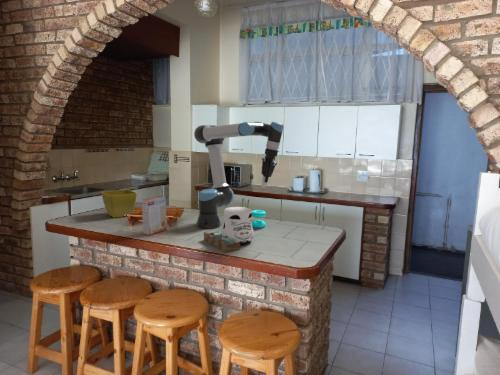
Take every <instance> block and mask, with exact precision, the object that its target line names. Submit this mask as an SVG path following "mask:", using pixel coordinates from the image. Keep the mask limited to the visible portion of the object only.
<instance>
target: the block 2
mask: <svg viewBox="0 0 500 375" xmlns="http://www.w3.org/2000/svg"><path fill="white" fill-rule="evenodd" d="M222 241H223V242H225V243H226V245H227V244H233V243H234V239H233V238H228V237H226V238H223V237H222Z"/></svg>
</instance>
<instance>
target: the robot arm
mask: <svg viewBox="0 0 500 375" xmlns="http://www.w3.org/2000/svg"><path fill="white" fill-rule="evenodd" d="M283 131H284V124H283V123H279V122H277V121H276V122H275V121H271V122H270V124H268V123H264V122H261V121H254V122H250V121H243V122H239V123H232V124H224V125H213V124H212V125H211V124H210V125H205V124H204V125H203V124H202V125H198V126H197V127H196V128H195V129H194V134H193V135H194V139H195V140H196V141H197V142H198V143H200V144H204V146H205V148H206V149H207V150H208V157H209V164H210V170H211V177H212V182H213V186H211V187H210V188H205V189H202V190H200V191H199V193H198V207H199V208H198V211H199V212H198V217H197V220H196V227H197V228H198V229H199V228H200V229H206V230H207V229H217V228H219V227H221V221H220V218H219V214H218V213H219V212H218V208H222V207H227V206H229V205H231V204H232V202H234V199H235V194H234V191H233V190H232V189H231V187H230V184H228V183H227V179H226V172H225V166H224V159H223V152H222V146H223V145H224V143H223V142H224V141H225V139H227V138H238V137H249V136H255V137H257V136H260V137H261V136H262V137H266V138H267V141H266V143H265V144H266V145H265V147H266V148H265V149H264V155H265V157H262V158H261V161H262V163H261V175H262V181H261V184H260V187H261V188H265V189H266V188H267V185H268V182H269V178H271V177H272V176H273V174H274V171H275V167H276V165H277V164H278V163H277V162H276V157H277V156H278V154H279V148H280V144H281V141H282V140H281V139H282V136H283Z"/></svg>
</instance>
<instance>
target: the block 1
mask: <svg viewBox="0 0 500 375" xmlns="http://www.w3.org/2000/svg"><path fill="white" fill-rule="evenodd" d="M217 232H218V233H214V237H216V238H218V239H219V240H221V241H222V239H223V237H222V231H221V232H220V231H217Z"/></svg>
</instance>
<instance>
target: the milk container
mask: <svg viewBox="0 0 500 375" xmlns="http://www.w3.org/2000/svg"><path fill="white" fill-rule="evenodd" d="M252 211H253V210H252V209H251V208H249V207H244V206H231V207H230V206H229V207H226V208H224V211H223V226H222V231H221V232H222V239H223V238H226V237H228V238H233V239H234V243H238V242H239V243H240V245H243V244H247V243H250V242H251V241H252V240H253V238H254V227H252V221H253V216H252Z"/></svg>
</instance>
